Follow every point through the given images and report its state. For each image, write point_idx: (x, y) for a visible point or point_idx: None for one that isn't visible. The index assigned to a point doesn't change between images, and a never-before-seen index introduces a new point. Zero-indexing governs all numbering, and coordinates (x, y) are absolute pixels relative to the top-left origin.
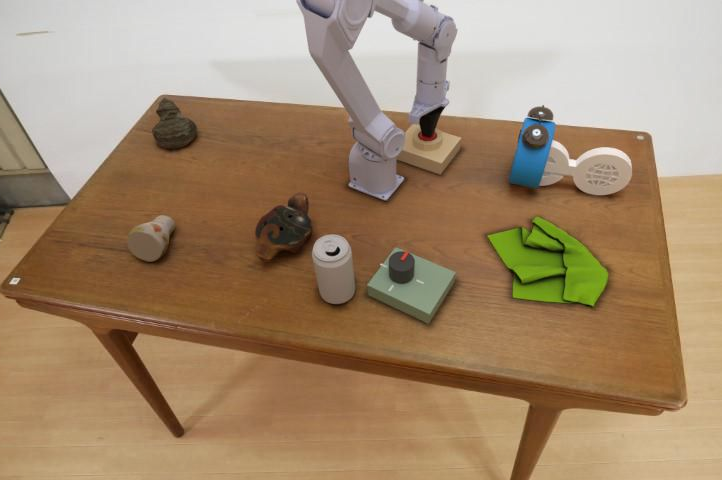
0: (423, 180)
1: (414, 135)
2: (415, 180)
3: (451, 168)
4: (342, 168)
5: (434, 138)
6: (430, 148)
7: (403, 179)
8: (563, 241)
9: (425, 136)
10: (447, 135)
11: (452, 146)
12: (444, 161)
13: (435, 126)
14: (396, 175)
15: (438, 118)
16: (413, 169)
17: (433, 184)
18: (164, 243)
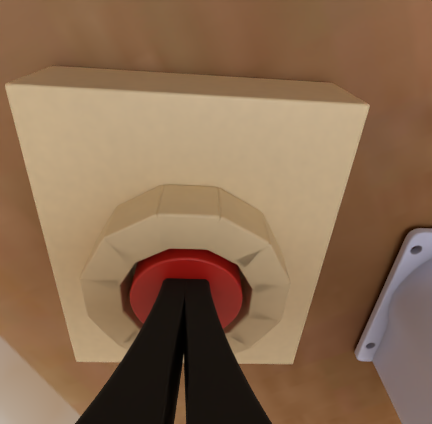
0: (397, 149)
1: None
2: (404, 183)
3: (251, 42)
4: (380, 392)
5: (192, 254)
6: (268, 230)
7: (426, 231)
8: None
9: None
10: (53, 188)
11: (147, 108)
12: (314, 96)
13: (160, 332)
14: (404, 264)
15: (120, 399)
16: None
17: (423, 86)
18: None
